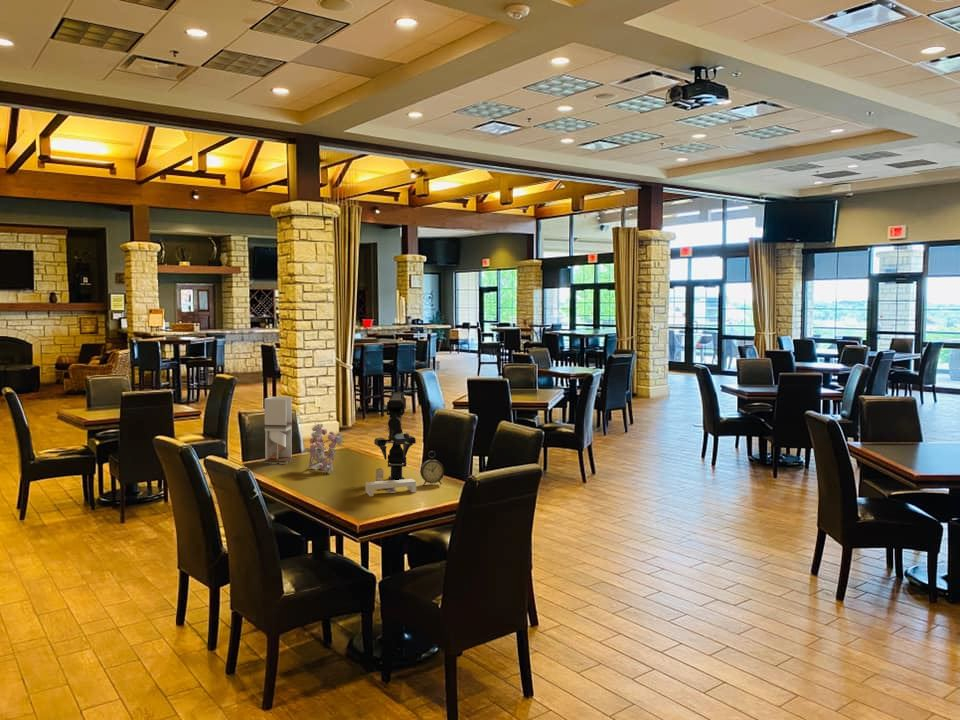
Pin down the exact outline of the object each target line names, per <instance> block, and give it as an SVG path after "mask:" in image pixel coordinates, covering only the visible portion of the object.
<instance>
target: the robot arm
mask: <svg viewBox="0 0 960 720" xmlns="http://www.w3.org/2000/svg"><path fill="white" fill-rule="evenodd" d="M406 409H407V398H406V397H405V396H404V395H403V393H402V392H392V393H391V396H390V397H389V399H388V401H387V402H386V416H388V422H387V426H388V439H387V438H386V439H385V438H384V437H375V439H374V444H373V445H375V446H377V447H378V448H379V449H380V451H381V454H382V456H383V458H384V460H386V461H387V467H388V468H390V475H389V476H388V477H389V478H388V479H390V480H391V479H392V480H395V479H399V480H402V479H405V477H404V476H403V468H405V467H407V454H408V452H409V449H410V447H411V446H413V445H414V444H416V443H417V442H416V441H417V439H416V437H414V436H412V435H410V434H409V433H408V432H405V433H403V429H402V418H403V416H404V414H405V413H406V412H405V411H406ZM387 444H392V446H391V448H390V449H389V453H388V454H387V447H388V446H387Z"/></svg>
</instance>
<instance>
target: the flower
mask: <svg viewBox="0 0 960 720" xmlns="http://www.w3.org/2000/svg"><path fill="white" fill-rule="evenodd" d="M323 427H324V425H323V423H322V422H321V423H318V424H317V423H316V422H314V425H313V426H312V427H311V430H312V433H310V434H311V438H310V439H309V444H310V445H309V447H305V448H304V449H303V450H302V452H301V453H300V455H301V454H306V453H309V454H310V457H309V465H308V466H307V468H308V469H312V470H314V469H318V470H320V471H321V472H324V474H331V473H332V472H334V471H335V468H333V467H334V466H333V461H334V460H335V455H336V454H337V450H335V449H336V445H337V446H343V444H342V443H345V442H344V440H345V438H344V435H342V434H343V433H342V432H338V433H334V432H333V431H330V432H328V430H327V429H326V428H323ZM327 434H328V436H327V440H325V441H324V439H323V436H326V435H327ZM328 442H331V443H329V444H328V449H327V448H326V447H325V443H328ZM326 450H327V451H326ZM328 459H329V460H328ZM314 461H315V462H314ZM313 462H314V463H313ZM331 471H332V472H331ZM329 472H330V473H329Z"/></svg>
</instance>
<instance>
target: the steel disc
mask: <svg viewBox="0 0 960 720" xmlns="http://www.w3.org/2000/svg"><path fill="white" fill-rule="evenodd" d="M387 493H395V494H396V493H397V490H396V489H388V490H385V494H387Z"/></svg>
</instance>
